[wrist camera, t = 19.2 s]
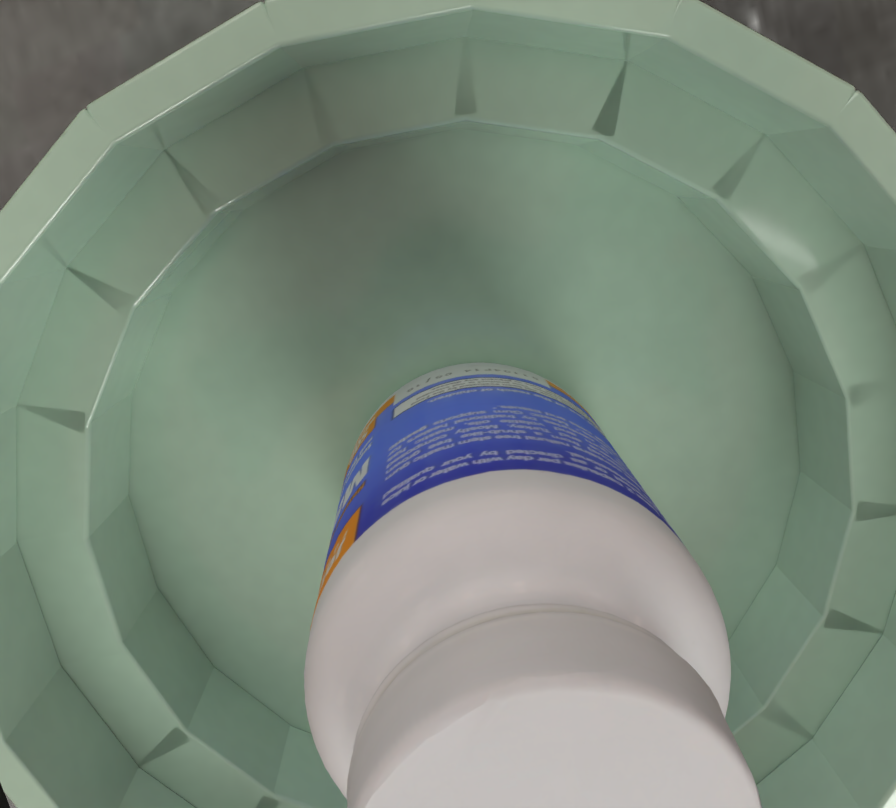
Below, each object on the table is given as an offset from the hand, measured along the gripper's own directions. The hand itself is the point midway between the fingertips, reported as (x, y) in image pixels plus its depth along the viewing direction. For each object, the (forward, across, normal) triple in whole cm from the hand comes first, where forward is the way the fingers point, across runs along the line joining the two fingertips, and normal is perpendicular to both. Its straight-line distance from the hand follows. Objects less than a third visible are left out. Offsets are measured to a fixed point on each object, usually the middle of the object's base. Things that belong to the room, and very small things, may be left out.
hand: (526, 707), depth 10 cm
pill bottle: (+8, 0, 0) cm, 8 cm away
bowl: (+8, 0, 0) cm, 8 cm away
